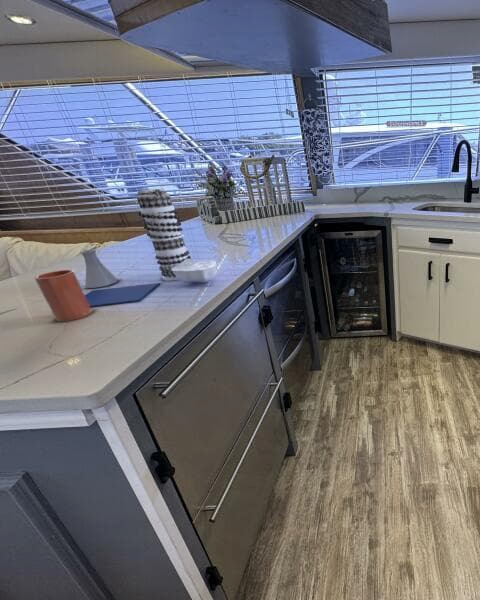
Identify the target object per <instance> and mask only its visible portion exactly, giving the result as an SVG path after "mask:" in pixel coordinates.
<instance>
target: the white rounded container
mask: <svg viewBox="0 0 480 600" xmlns="http://www.w3.org/2000/svg"><path fill="white" fill-rule="evenodd" d="M171 270H172V271H173V272H174V274H175V275H176V277H177V278H178V279H179V280H178V281H180V282H182V283H185V284H195V283H203V284H204V283H207V282H209V281H211V280H213V279H214V278H215V277H216V275H217V273H218V267H217V262H216V261H214V260H212V259H211V260H194V259H193V258H191V259H185V260H184V261H183V262H182V264H180V265H178V266H175V267H174V268H172V269H171Z"/></svg>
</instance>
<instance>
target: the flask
mask: <svg viewBox="0 0 480 600" xmlns="http://www.w3.org/2000/svg"><path fill="white" fill-rule="evenodd" d="M96 252H97V250H96V249H85V250H81V251H80V252H79V253H80V255H82V257H83V259H84V263H85V289H92V288H93V289H94V288H101V287H107V286H110V285H112V284H116V283H117V282H118V278H117V277H116V275H114V274H113V273H112V272H111V271H110V270H109V269H108V268H107V267H106V266H105V265H104V264H103V263H102V261H101V260H100V258H99V257H98V254H97V253H96Z"/></svg>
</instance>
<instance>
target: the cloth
mask: <svg viewBox="0 0 480 600" xmlns="http://www.w3.org/2000/svg"><path fill="white" fill-rule="evenodd" d="M159 286H160V282H156V283H147V284H137V285H129V286H119V287H111V288H102V289H94V290H91V291H90V292H88V293H86V294H85V296H86V298H87V301H88V303H89V305H90V307H91V308H96V307H104V306H113V305H119V304H120V305H121V304H128V303H129V304H130V303H135V302H140V301H141V300H143V299H144V298H145V297H146V296H148V295H149V294H150V293H151V292H153V291H154V290H155V289H156V288H158V287H159Z"/></svg>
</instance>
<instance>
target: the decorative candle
mask: <svg viewBox="0 0 480 600" xmlns="http://www.w3.org/2000/svg"><path fill="white" fill-rule="evenodd" d="M135 198H136V199H137V203H138V206H139V211H138V212H137V214H138V216H139V217H141V218H142V219H141V220H140V221H141V224H143V229H144V230H146V231H147V232H146V233H145V234H146V235H147V237H148V240H149V241H150V242H152V246H153V248H154V250H153V251H154V253H155V257H154V259H155V260H157V262H156V263H157V264H158V265H160V266H159V267H158V270H159V271H161V272H160V275H161V276H162V280H163V281H167V282H169V281H180V280H179V279H178V278H177V277H176V275H175V274H174V272H173V271H172V270H171V269H172V268H174V267H175V266H178V265H180V264H182V262H183V261H184V260H185V259H192V257H191V256H190V255H189V254H190V251H189V250H188V249H187V245H186V244H185V241H184V236H185V235H184V234H183V233H181V232H182V231H183V230H184V229H183V228H182V227H180V226H182V222H180V221H178V220H179V219H180V215H178V213H179V210H178V209H176V208H175V206H174V204H173V202H172V199H171V193H168V192H167V191H166V190H164V189H163V188H151V189H150V188H149V189H141V190H138V191H137V195H135Z"/></svg>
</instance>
